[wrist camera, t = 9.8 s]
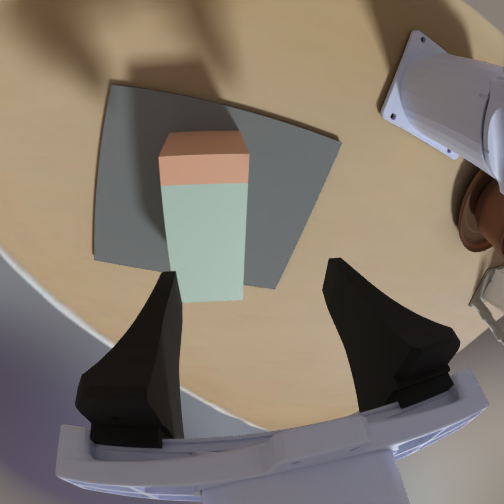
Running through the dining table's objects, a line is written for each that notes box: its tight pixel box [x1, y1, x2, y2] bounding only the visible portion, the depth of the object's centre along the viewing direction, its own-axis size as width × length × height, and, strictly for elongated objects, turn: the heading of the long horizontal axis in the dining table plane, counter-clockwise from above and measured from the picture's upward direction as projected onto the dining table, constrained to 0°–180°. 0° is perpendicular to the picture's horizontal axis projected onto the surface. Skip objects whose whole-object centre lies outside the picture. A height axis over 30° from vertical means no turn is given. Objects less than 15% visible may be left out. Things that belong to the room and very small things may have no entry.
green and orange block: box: [159, 131, 250, 303], centre depth 19 cm, size 10×4×5 cm, turn 177°
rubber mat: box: [94, 84, 342, 289], centre depth 21 cm, size 16×14×1 cm
